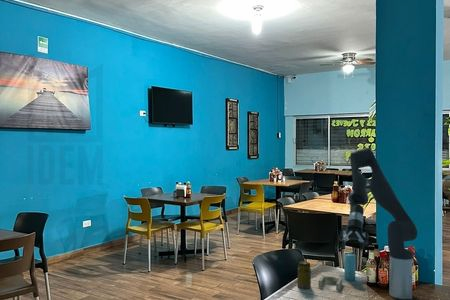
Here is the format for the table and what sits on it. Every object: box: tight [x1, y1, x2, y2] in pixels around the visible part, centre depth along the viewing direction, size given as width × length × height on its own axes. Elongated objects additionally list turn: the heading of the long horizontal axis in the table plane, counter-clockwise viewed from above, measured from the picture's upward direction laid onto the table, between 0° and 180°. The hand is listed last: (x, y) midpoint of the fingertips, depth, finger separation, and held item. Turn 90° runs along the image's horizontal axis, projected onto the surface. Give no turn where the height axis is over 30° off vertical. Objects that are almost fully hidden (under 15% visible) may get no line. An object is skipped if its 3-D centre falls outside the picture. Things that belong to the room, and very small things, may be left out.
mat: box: [338, 274, 364, 286], centre depth 196 cm, size 11×11×1 cm
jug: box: [343, 253, 357, 281], centre depth 195 cm, size 5×7×12 cm
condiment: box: [297, 260, 312, 290], centre depth 185 cm, size 7×8×12 cm
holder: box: [317, 274, 344, 292], centre depth 187 cm, size 10×10×4 cm
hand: (352, 249), depth 204 cm, fingers open, 8 cm apart
